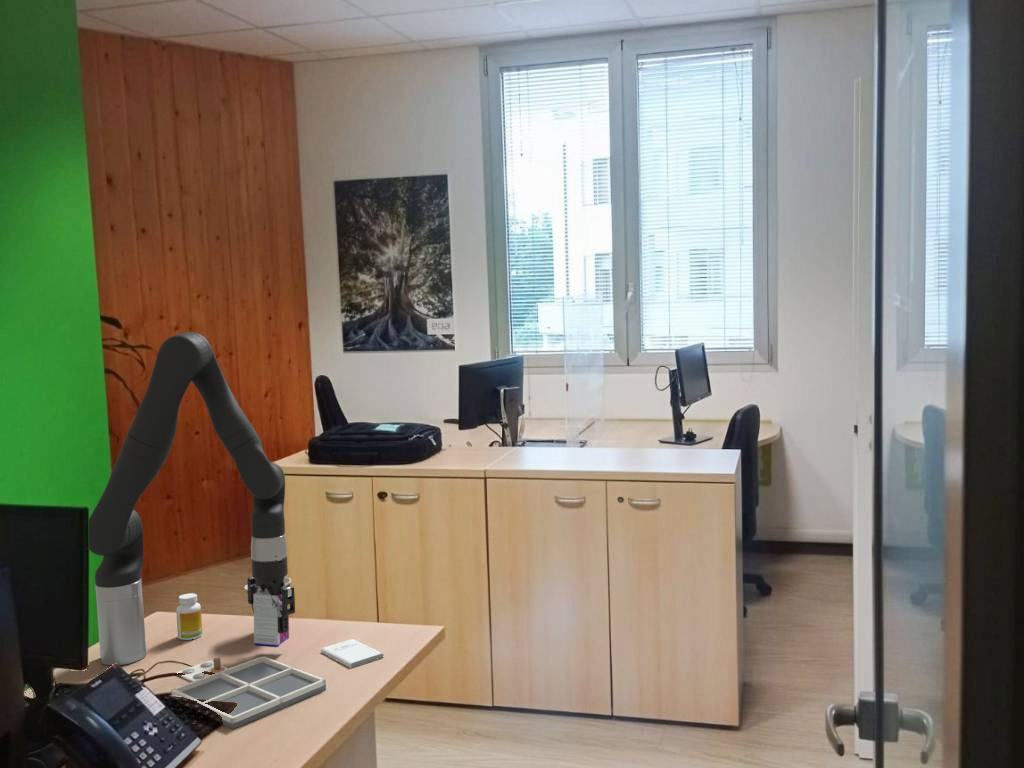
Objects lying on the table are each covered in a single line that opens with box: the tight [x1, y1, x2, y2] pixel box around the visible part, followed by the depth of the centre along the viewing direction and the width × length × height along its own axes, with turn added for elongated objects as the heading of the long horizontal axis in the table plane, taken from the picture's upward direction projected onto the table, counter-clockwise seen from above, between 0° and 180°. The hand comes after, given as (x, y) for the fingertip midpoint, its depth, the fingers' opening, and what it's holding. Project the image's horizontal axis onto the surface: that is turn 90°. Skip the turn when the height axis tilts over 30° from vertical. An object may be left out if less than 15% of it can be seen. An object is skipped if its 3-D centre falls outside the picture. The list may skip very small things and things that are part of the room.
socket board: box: [170, 655, 327, 730], centre depth 178 cm, size 21×21×2 cm
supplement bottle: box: [175, 593, 203, 641], centre depth 211 cm, size 5×5×10 cm
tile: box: [175, 657, 230, 683], centre depth 189 cm, size 8×8×3 cm
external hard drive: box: [320, 638, 384, 669], centre depth 197 cm, size 2×8×12 cm
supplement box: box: [253, 591, 290, 648], centre depth 198 cm, size 6×6×12 cm
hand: (272, 628), depth 198 cm, fingers closed on supplement box, 7 cm apart
